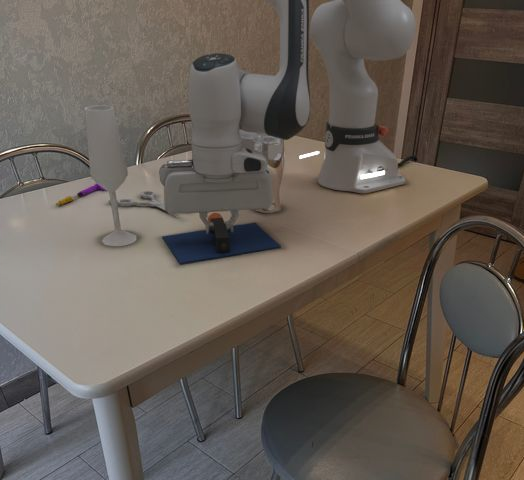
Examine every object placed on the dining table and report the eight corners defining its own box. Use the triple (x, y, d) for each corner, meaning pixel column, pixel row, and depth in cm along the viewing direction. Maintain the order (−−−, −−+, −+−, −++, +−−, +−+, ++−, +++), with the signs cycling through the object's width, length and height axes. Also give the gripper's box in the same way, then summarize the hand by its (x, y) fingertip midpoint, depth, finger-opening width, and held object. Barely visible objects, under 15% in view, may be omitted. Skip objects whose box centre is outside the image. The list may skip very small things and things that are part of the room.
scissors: (143, 188, 128) (204, 206, 118) (143, 191, 128) (205, 209, 118) (108, 200, 121) (170, 220, 111) (108, 203, 121) (170, 223, 111)
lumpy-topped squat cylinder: (224, 161, 150) (223, 129, 146) (247, 151, 160) (247, 120, 155) (256, 167, 146) (256, 133, 141) (278, 156, 156) (279, 124, 151)
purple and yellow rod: (101, 185, 131) (55, 205, 120) (101, 180, 131) (54, 201, 119) (110, 189, 131) (64, 210, 119) (110, 184, 130) (64, 205, 118)
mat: (255, 224, 112) (255, 222, 112) (280, 247, 102) (281, 245, 102) (162, 238, 106) (162, 236, 106) (180, 264, 96) (179, 262, 96)
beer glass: (245, 207, 120) (245, 138, 112) (269, 201, 124) (270, 133, 115) (265, 216, 116) (266, 144, 107) (289, 209, 119) (291, 139, 111)
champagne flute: (137, 244, 103) (118, 111, 89) (101, 247, 102) (77, 112, 88) (136, 231, 108) (119, 103, 95) (102, 233, 107) (80, 104, 93)
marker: (208, 227, 110) (207, 213, 108) (222, 226, 110) (222, 212, 108) (216, 255, 98) (215, 240, 97) (232, 254, 99) (231, 239, 97)
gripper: (158, 166, 91) (166, 242, 99) (275, 161, 94) (274, 235, 102) (157, 156, 96) (164, 229, 104) (268, 152, 99) (267, 223, 107)
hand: (219, 232), depth 103 cm, fingers closed on marker, 2 cm apart
